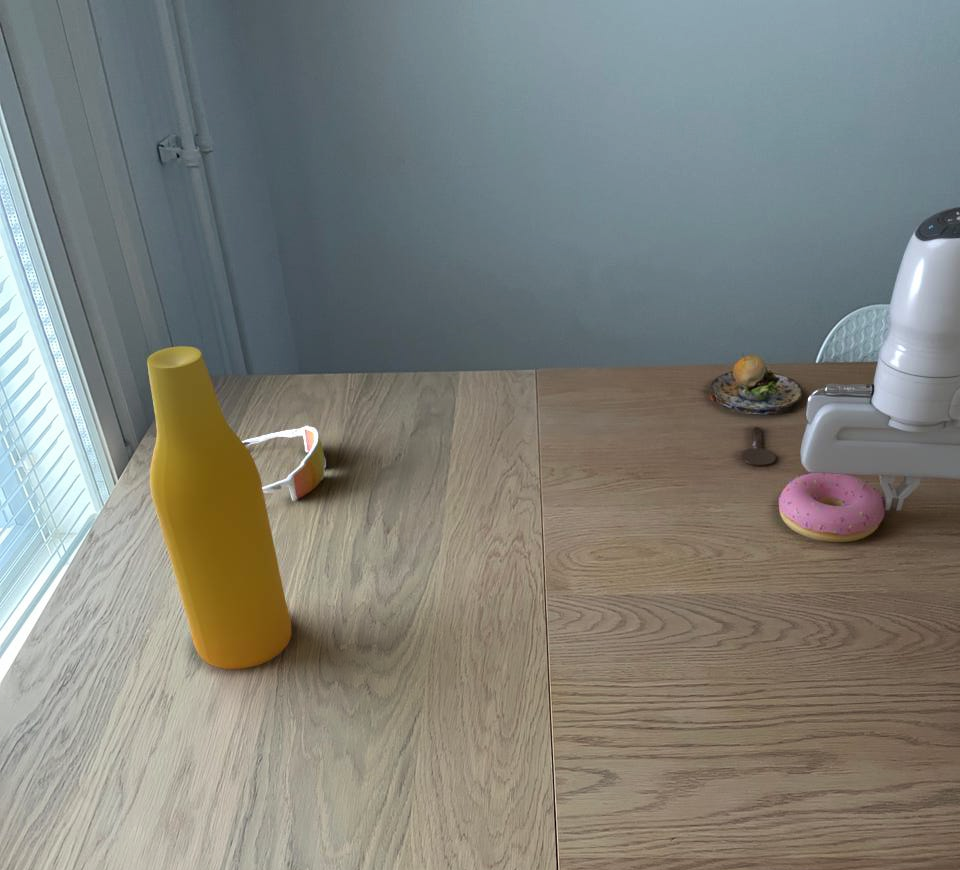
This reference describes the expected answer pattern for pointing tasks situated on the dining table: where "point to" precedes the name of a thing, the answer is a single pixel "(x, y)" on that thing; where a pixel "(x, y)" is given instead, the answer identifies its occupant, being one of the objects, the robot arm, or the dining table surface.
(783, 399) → the burger
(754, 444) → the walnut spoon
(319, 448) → the sunglasses
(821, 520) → the doughnut
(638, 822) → the dining table surface
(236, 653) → the beer bottle
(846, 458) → the robot arm
